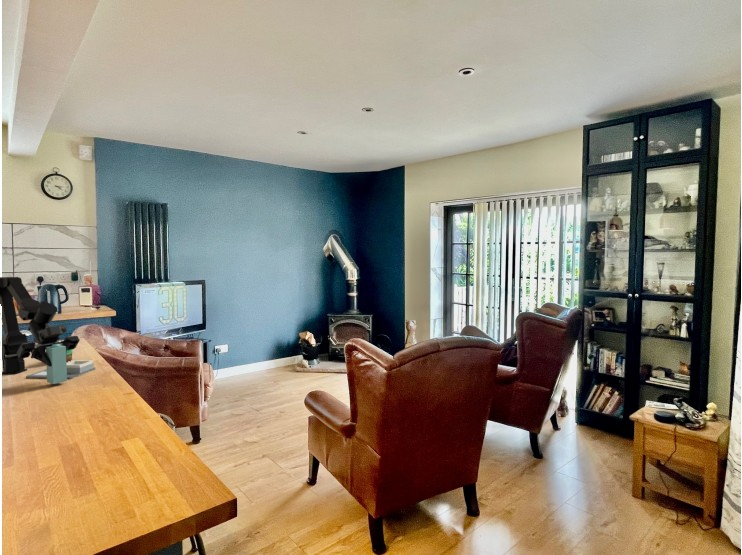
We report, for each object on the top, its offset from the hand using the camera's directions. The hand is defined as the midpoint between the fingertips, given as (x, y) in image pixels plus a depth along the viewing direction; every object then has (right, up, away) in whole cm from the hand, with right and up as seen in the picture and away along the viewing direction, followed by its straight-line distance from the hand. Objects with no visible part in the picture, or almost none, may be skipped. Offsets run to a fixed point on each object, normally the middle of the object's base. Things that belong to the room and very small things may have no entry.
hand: (58, 364), depth 161 cm
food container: (-22, -6, +35) cm, 42 cm away
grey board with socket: (-10, -7, +16) cm, 19 cm away
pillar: (-1, -7, +1) cm, 7 cm away
